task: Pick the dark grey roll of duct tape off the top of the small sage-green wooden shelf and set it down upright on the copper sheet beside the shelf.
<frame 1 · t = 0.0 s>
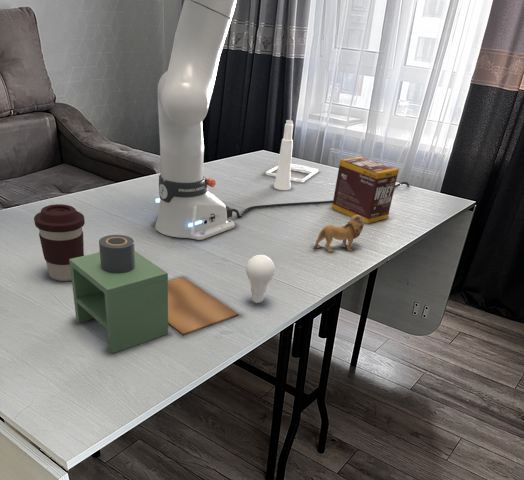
supplement box: (359, 214, 173), on the table
shelf: (122, 327, 105), on the table
coffee cup: (66, 275, 121), on the table
lightbulb: (257, 303, 118), on the table
photo frame: (292, 173, 204), on the table
lion figurine: (336, 248, 148), on the table
white tapered tower: (282, 188, 188), on the table
copper sheet: (182, 304, 114), on the table
tape roll: (118, 266, 98), point 13 cm above the table, touching shelf
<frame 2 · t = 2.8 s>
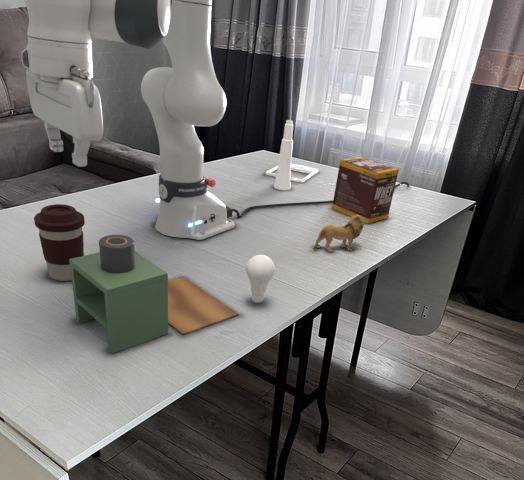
hand: (67, 158, 87), 31 cm above the table, tool pointing down, fingers open, 8 cm apart
nothing on the table moved.
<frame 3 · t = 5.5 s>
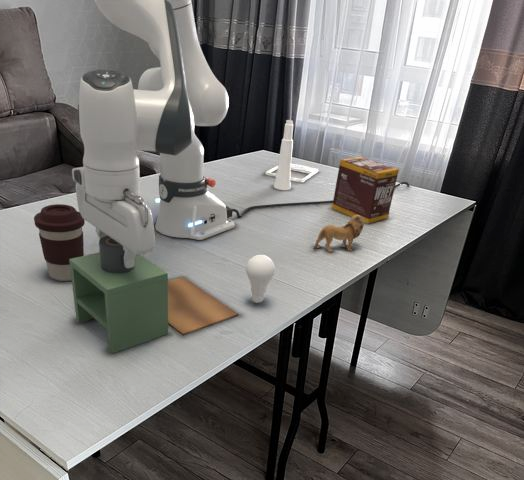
hand: (117, 258, 97), 14 cm above the table, tool pointing down, fingers closed on tape roll, 6 cm apart
tape roll: (118, 266, 98), point 13 cm above the table, touching gripper, shelf
everything else where it was.
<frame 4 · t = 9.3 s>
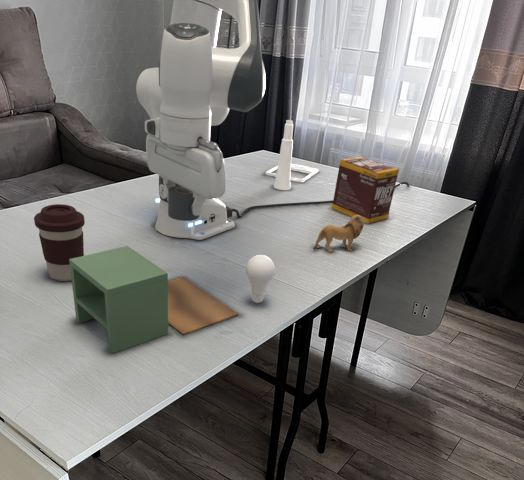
hand: (183, 208, 103), 21 cm above the table, tool pointing down, fingers closed on tape roll, 6 cm apart
tape roll: (184, 215, 103), point 20 cm above the table, touching gripper
everything else where it was.
when the fingers open (2 cm above the table, at t = 13.2 s): tape roll stays where it is, resting on copper sheet.
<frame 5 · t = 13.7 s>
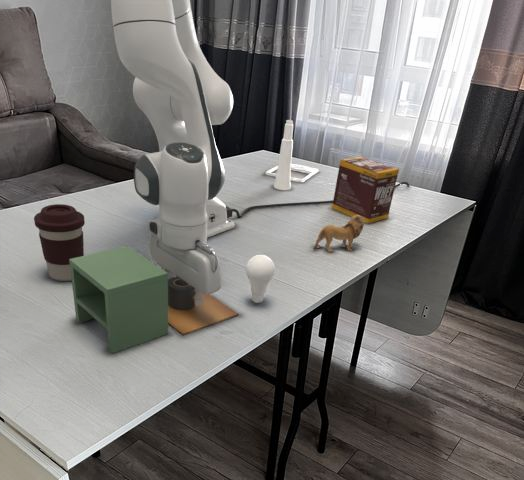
hand: (183, 295, 113), 2 cm above the table, tool pointing down, fingers open, 8 cm apart
tape roll: (181, 303, 114), resting on copper sheet
everything else where it was.
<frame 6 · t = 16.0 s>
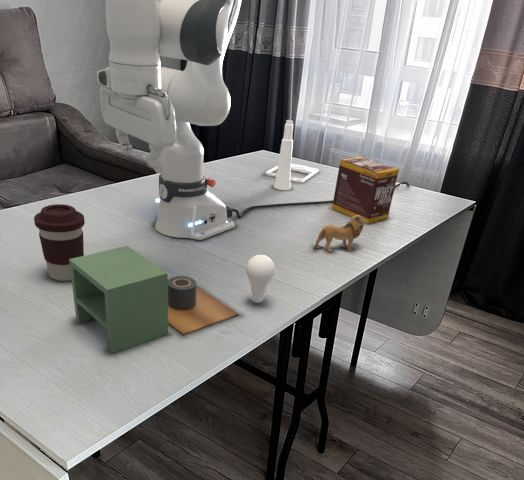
hand: (139, 160, 104), 28 cm above the table, tool pointing down, fingers open, 8 cm apart
nothing on the table moved.
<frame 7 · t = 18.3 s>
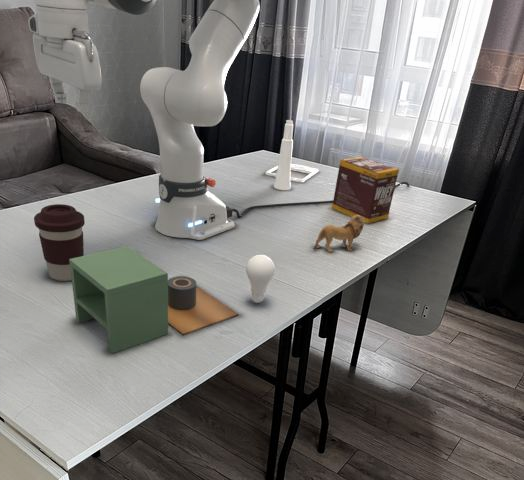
hand: (71, 107, 106), 34 cm above the table, tool pointing down, fingers open, 8 cm apart
nothing on the table moved.
at the end: tape roll inside the target area on the copper sheet (0.3 cm from its centre), point 0.4 cm above the copper sheet's base; tape roll tilted 0°; the gripper is holding nothing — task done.
